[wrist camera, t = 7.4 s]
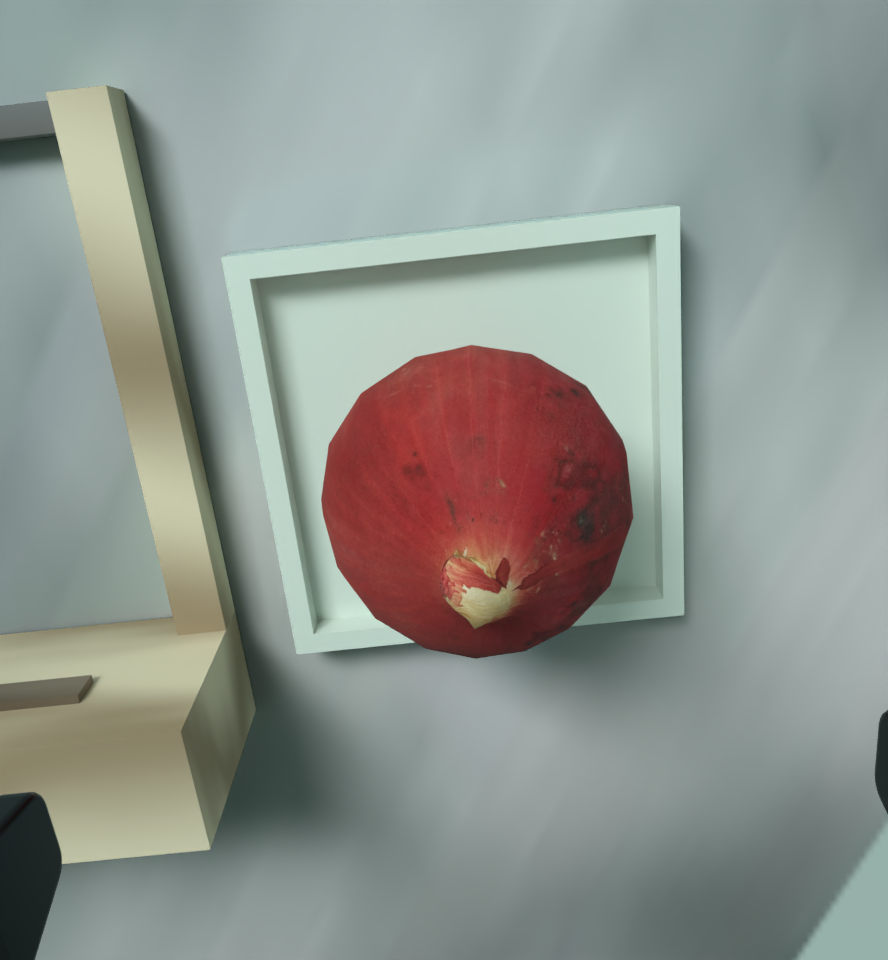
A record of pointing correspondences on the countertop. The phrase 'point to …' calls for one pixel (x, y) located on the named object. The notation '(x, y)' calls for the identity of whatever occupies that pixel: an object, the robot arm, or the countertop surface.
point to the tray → (453, 324)
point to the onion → (477, 500)
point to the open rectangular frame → (180, 546)
